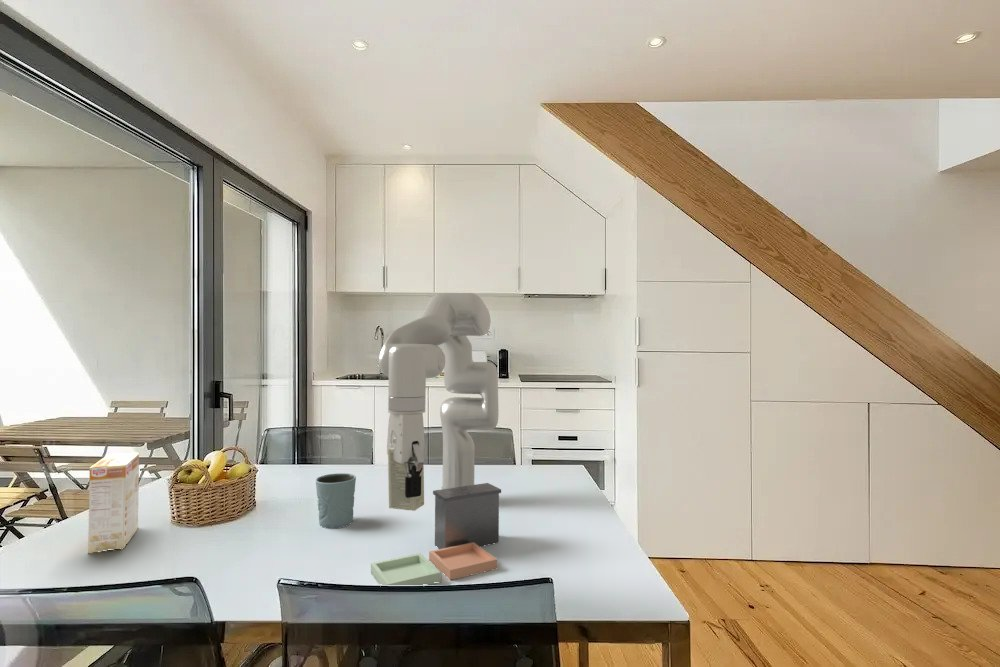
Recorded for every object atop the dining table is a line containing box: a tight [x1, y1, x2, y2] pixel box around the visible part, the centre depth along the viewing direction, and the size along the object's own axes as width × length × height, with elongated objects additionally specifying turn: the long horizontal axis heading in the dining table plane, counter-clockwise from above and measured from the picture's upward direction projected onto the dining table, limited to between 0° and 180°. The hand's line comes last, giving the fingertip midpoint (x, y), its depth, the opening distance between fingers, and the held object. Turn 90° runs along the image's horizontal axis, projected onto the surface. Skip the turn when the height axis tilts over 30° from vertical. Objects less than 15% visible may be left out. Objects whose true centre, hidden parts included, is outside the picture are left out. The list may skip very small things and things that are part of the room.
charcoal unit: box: [432, 482, 502, 549], centre depth 125 cm, size 7×15×13 cm, turn 120°
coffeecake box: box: [87, 452, 140, 554], centre depth 126 cm, size 15×7×20 cm, turn 23°
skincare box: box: [387, 448, 425, 512], centre depth 107 cm, size 6×4×12 cm
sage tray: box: [370, 552, 442, 585], centre depth 107 cm, size 11×11×2 cm
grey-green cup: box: [315, 472, 357, 529], centre depth 139 cm, size 10×10×12 cm
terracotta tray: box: [428, 542, 498, 581], centre depth 113 cm, size 11×11×2 cm
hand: (406, 491), depth 107 cm, fingers closed on skincare box, 7 cm apart
